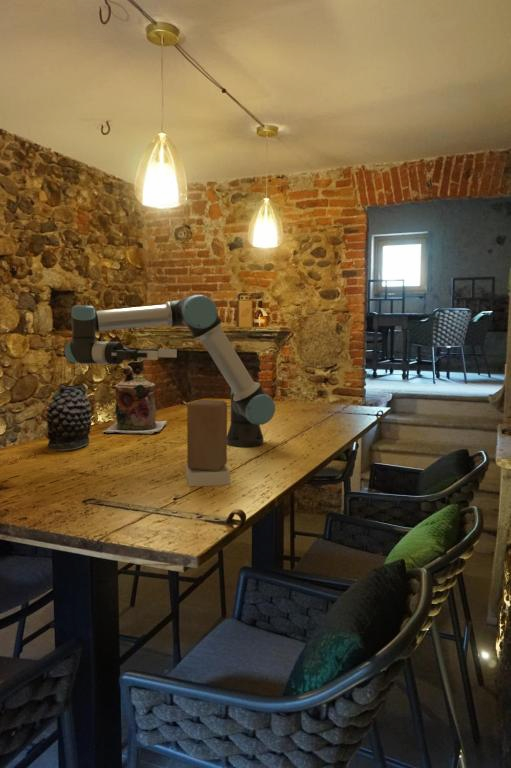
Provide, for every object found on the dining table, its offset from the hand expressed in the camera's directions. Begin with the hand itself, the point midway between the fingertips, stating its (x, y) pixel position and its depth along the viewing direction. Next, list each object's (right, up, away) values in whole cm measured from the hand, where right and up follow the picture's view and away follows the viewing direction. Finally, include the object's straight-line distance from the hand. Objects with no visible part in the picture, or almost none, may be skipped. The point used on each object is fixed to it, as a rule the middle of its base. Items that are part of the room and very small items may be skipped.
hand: (167, 354), depth 178 cm
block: (+14, -35, -9) cm, 39 cm away
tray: (+14, -39, -8) cm, 42 cm away
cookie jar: (-26, -30, +73) cm, 83 cm away
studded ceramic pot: (-43, -34, +35) cm, 65 cm away
